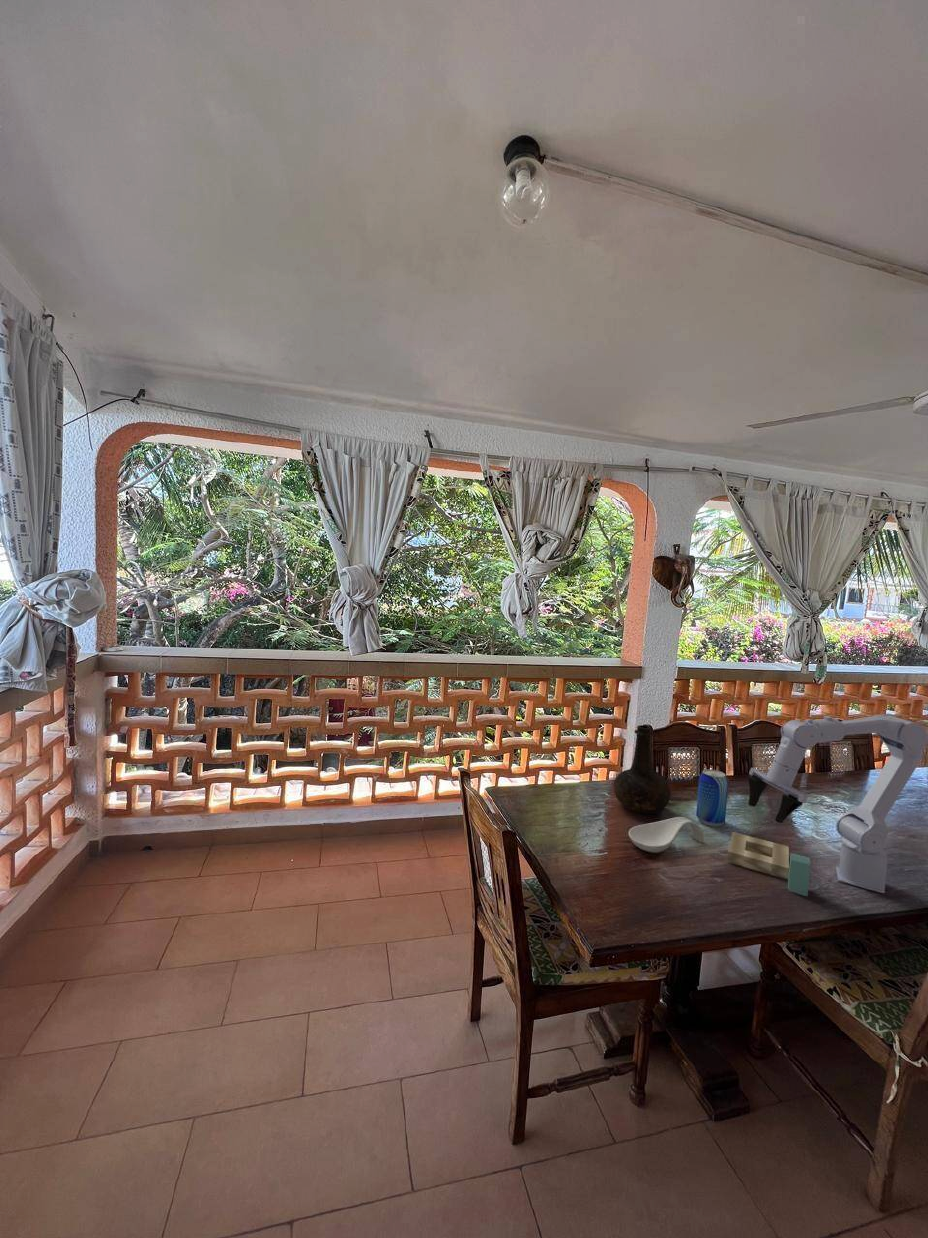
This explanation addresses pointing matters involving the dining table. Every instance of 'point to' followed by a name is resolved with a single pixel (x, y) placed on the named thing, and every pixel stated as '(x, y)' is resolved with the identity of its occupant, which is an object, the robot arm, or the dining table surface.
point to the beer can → (712, 798)
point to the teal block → (799, 874)
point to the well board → (759, 855)
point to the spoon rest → (662, 834)
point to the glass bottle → (642, 780)
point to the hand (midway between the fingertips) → (764, 813)
